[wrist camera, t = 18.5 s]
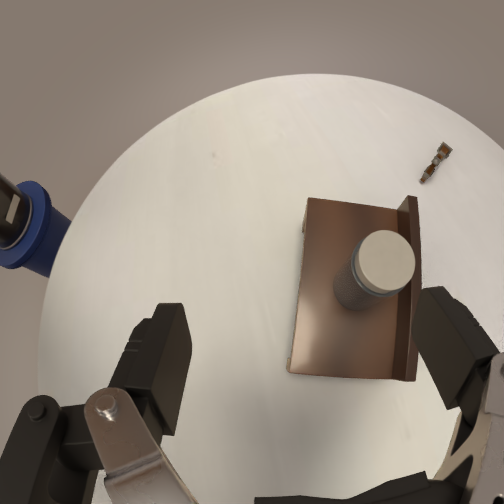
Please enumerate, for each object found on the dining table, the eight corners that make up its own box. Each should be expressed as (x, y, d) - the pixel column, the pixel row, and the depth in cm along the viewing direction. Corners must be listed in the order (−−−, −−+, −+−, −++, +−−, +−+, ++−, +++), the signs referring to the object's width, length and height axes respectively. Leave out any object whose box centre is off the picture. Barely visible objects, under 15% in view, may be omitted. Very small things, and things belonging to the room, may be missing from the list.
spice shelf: (286, 369, 30) (291, 375, 21) (302, 222, 35) (311, 180, 26) (379, 375, 29) (415, 381, 20) (387, 233, 33) (417, 196, 25)
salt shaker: (330, 309, 25) (354, 289, 18) (334, 259, 27) (356, 222, 19) (379, 313, 25) (418, 296, 17) (381, 264, 26) (416, 231, 19)
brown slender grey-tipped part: (414, 178, 34) (433, 152, 31) (428, 162, 39) (443, 140, 35) (425, 188, 34) (444, 162, 30) (437, 170, 38) (453, 148, 35)
